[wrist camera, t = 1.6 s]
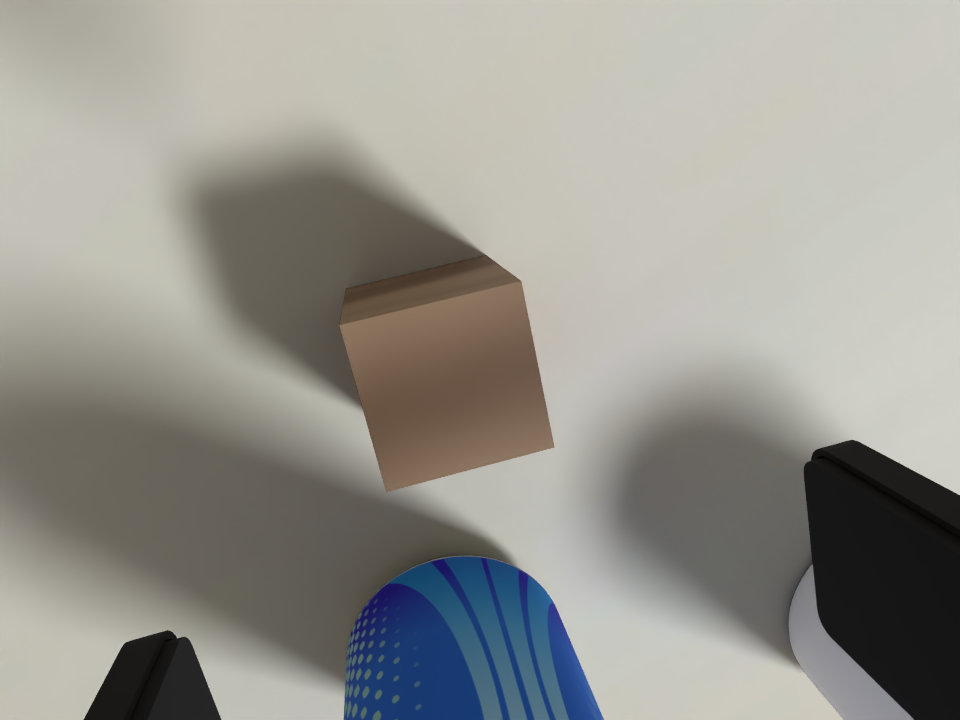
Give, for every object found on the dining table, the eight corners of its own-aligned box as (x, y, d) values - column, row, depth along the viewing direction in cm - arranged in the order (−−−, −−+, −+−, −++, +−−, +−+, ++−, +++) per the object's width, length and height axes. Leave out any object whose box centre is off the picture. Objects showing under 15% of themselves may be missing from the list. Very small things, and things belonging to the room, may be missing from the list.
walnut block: (346, 288, 24) (339, 325, 19) (485, 255, 25) (521, 281, 19) (382, 420, 26) (386, 491, 20) (513, 386, 26) (554, 447, 21)
